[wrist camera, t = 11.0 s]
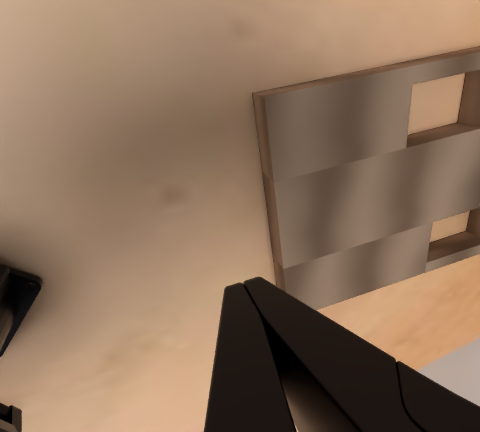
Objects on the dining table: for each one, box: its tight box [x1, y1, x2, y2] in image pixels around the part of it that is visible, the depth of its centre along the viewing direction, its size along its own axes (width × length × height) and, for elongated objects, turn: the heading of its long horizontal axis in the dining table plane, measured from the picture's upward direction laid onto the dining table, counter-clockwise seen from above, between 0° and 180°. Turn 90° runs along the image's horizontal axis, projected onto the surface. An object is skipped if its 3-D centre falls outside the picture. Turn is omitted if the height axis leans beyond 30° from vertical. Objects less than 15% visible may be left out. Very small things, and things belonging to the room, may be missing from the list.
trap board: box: [253, 46, 480, 310], centre depth 21 cm, size 24×16×7 cm, turn 99°
